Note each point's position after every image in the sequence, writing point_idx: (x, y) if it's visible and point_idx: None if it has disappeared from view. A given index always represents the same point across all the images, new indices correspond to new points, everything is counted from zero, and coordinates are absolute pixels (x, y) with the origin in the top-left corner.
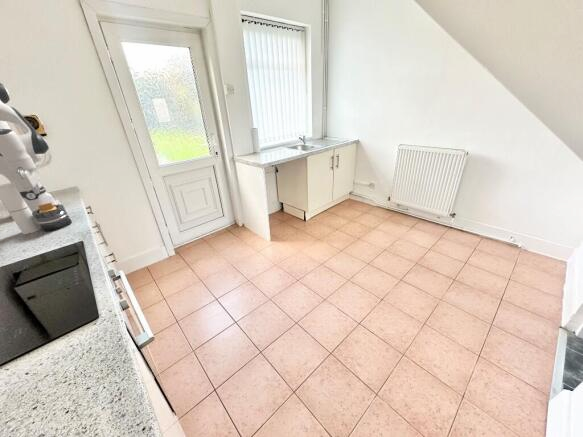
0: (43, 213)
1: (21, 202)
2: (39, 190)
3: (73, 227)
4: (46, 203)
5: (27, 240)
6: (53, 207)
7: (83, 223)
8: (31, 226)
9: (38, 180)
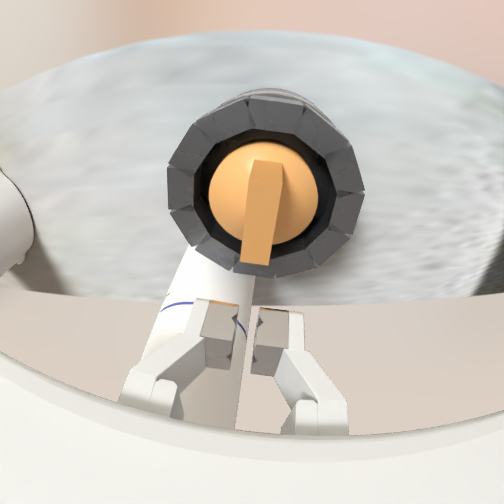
0: (352, 229)
1: None
2: (230, 318)
3: (380, 98)
4: (258, 214)
5: (342, 258)
6: (283, 165)
7: (366, 49)
8: None
9: (63, 397)
